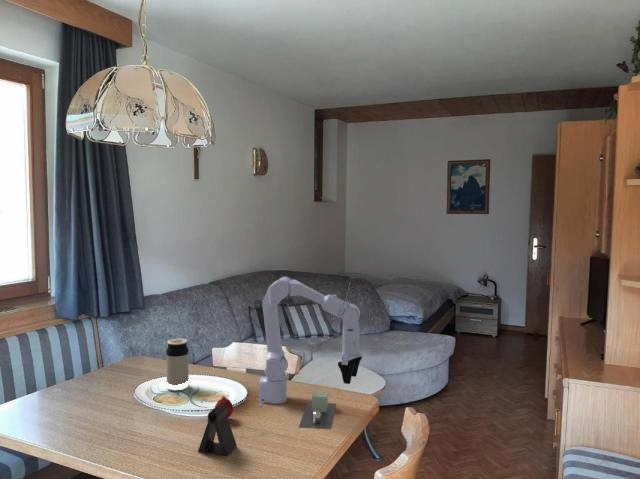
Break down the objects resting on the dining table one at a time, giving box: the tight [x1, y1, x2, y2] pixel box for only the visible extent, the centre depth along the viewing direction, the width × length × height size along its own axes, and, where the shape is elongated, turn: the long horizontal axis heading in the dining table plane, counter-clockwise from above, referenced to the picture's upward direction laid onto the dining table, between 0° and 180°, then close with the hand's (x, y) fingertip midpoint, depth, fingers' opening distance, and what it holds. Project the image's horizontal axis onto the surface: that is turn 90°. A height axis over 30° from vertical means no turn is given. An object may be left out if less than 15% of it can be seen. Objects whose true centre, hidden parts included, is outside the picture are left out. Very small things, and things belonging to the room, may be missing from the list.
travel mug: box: [165, 338, 190, 385], centre depth 187 cm, size 8×8×18 cm
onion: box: [214, 395, 234, 418], centre depth 158 cm, size 6×6×8 cm
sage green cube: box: [311, 390, 329, 412], centre depth 165 cm, size 5×5×5 cm
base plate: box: [298, 401, 337, 430], centre depth 160 cm, size 10×20×4 cm, turn 174°
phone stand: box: [197, 404, 237, 457], centre depth 139 cm, size 9×6×12 cm, turn 75°
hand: (350, 379), depth 169 cm, fingers open, 7 cm apart
